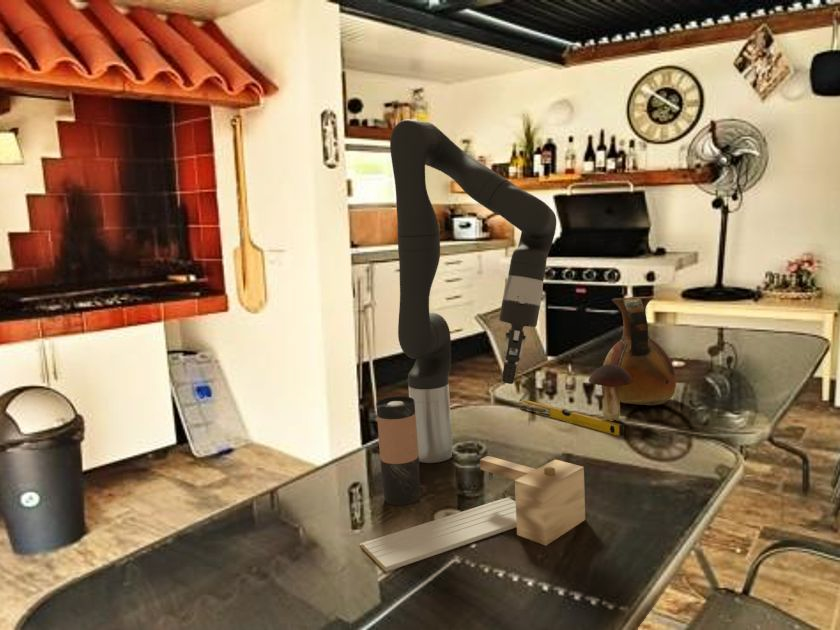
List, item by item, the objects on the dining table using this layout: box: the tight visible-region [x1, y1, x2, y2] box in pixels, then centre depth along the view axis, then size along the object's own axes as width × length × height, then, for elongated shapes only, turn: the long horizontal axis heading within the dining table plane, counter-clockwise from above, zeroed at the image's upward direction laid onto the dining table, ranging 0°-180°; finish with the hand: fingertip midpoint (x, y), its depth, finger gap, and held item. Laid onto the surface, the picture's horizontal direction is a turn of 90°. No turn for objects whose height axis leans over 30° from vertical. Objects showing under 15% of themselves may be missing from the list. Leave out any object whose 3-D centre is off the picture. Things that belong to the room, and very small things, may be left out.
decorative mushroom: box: [588, 364, 633, 421], centre depth 171 cm, size 11×11×15 cm
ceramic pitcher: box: [601, 296, 677, 406], centre depth 184 cm, size 20×20×30 cm
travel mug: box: [375, 395, 421, 507], centre depth 133 cm, size 8×8×20 cm
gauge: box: [479, 455, 586, 546], centre depth 122 cm, size 18×12×11 cm, turn 44°
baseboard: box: [359, 490, 517, 573], centre depth 119 cm, size 31×3×12 cm
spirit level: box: [519, 398, 624, 437], centre depth 174 cm, size 33×1×3 cm, turn 37°
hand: (507, 381), depth 134 cm, fingers open, 8 cm apart
